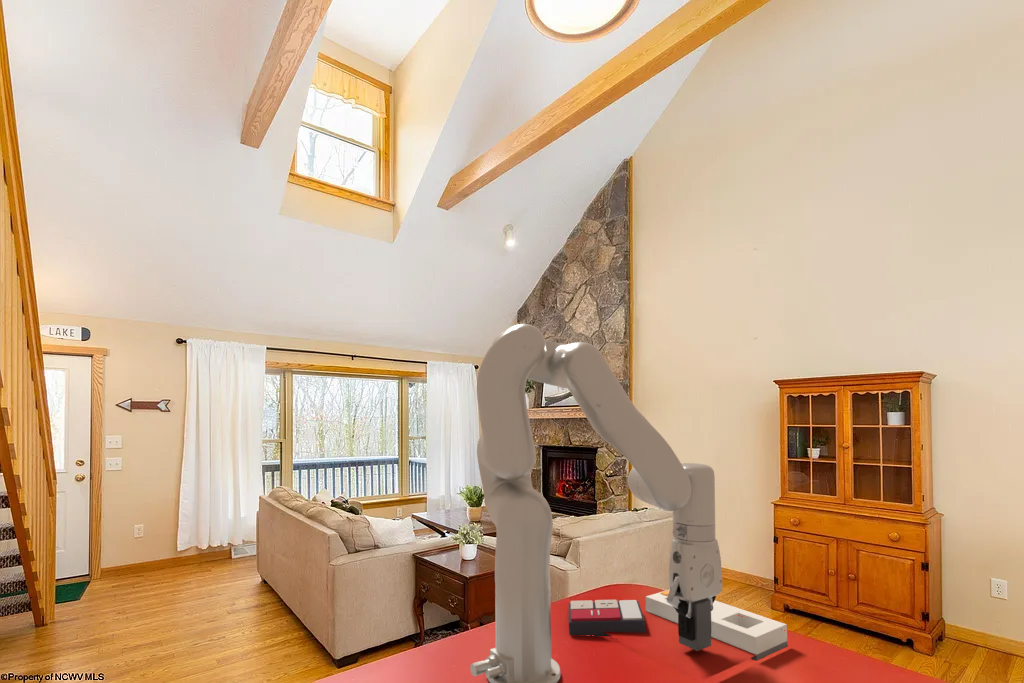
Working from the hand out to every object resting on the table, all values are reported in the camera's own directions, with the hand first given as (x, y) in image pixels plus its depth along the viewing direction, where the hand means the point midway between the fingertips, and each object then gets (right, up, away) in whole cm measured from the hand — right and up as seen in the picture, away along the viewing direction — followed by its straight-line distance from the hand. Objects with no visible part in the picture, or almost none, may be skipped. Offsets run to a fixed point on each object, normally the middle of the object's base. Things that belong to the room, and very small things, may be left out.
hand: (694, 634), depth 107 cm
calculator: (-14, -6, +14) cm, 21 cm away
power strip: (+7, -5, +12) cm, 14 cm away
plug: (0, -2, 0) cm, 2 cm away
